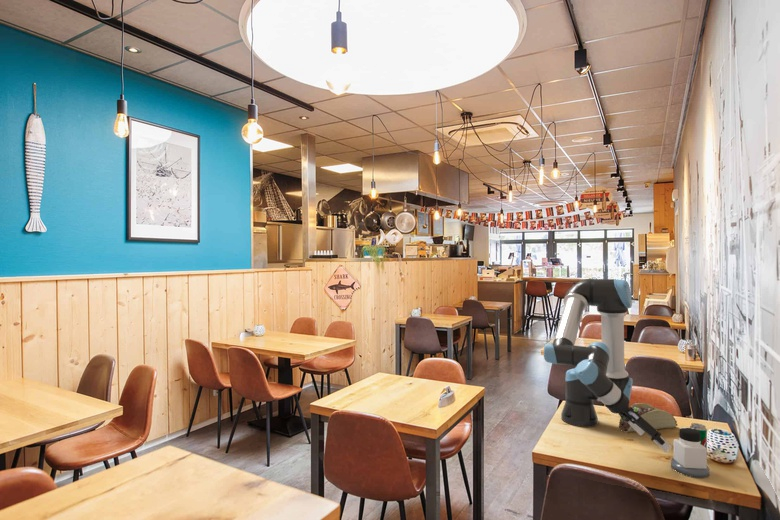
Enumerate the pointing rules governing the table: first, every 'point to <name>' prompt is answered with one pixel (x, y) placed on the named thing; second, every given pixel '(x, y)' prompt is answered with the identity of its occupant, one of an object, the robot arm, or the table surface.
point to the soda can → (703, 432)
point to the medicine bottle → (690, 449)
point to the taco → (650, 417)
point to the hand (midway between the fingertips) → (655, 440)
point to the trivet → (690, 470)
